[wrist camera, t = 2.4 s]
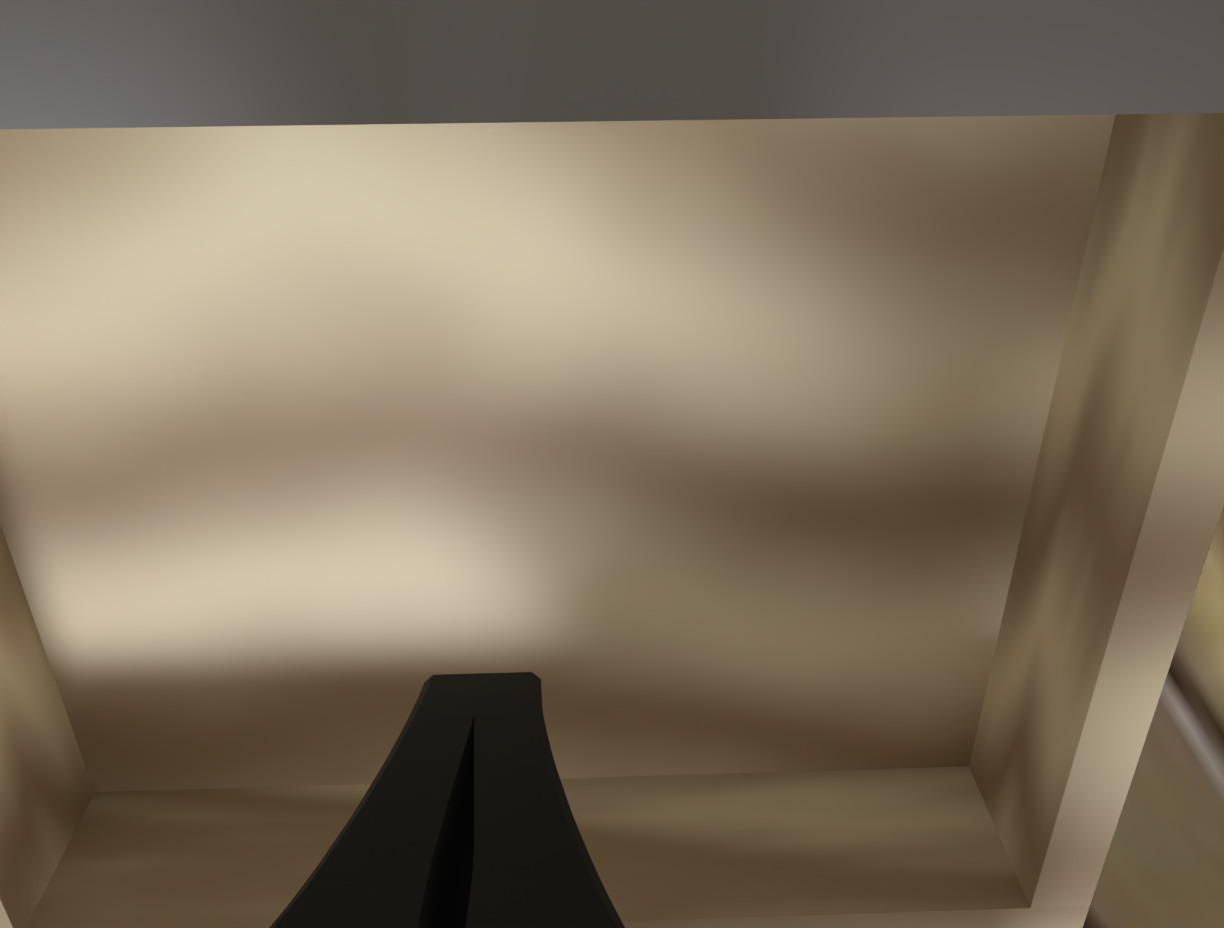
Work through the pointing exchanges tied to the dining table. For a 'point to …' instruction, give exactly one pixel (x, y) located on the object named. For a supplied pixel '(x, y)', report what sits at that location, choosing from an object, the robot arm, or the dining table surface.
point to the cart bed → (604, 497)
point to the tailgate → (598, 60)
